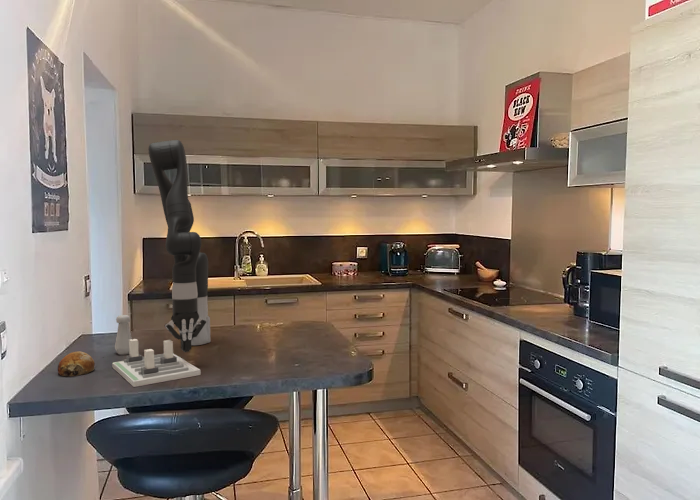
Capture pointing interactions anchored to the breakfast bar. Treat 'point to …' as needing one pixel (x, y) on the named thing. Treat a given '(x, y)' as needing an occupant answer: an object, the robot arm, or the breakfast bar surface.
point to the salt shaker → (123, 335)
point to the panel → (165, 373)
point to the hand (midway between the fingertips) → (186, 351)
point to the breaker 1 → (133, 351)
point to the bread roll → (76, 364)
